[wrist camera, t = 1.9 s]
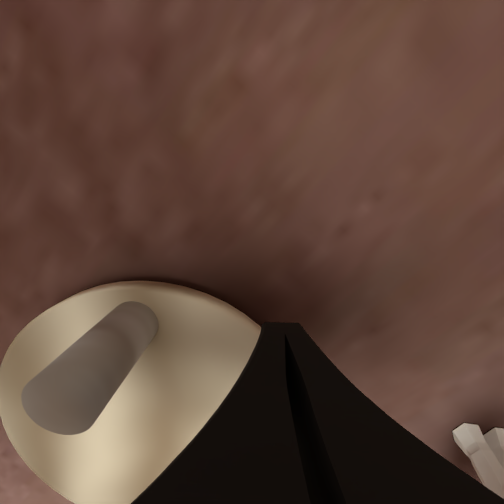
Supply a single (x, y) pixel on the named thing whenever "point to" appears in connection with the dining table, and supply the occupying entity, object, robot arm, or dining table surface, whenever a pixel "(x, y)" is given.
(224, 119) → the dining table surface
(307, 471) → the robot arm
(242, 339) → the turntable
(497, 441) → the toy robot
